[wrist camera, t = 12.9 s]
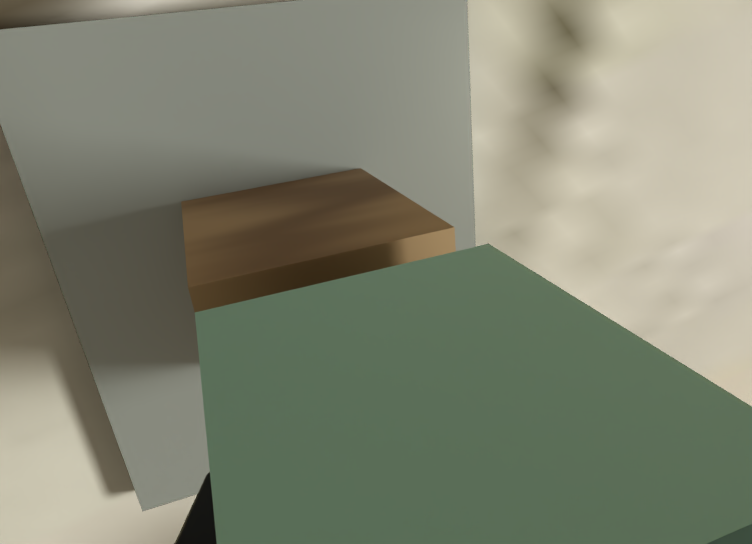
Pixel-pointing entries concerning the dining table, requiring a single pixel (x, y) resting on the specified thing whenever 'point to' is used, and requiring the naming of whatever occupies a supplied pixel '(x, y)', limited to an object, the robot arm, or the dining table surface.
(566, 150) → the dining table surface
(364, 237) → the walnut block
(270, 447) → the teal block
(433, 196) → the baseplate
